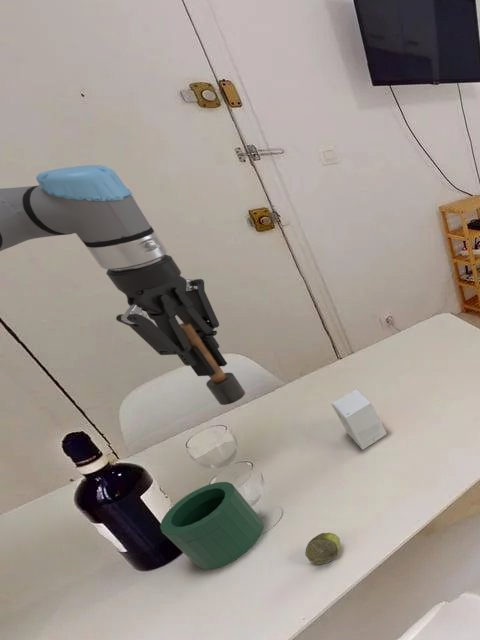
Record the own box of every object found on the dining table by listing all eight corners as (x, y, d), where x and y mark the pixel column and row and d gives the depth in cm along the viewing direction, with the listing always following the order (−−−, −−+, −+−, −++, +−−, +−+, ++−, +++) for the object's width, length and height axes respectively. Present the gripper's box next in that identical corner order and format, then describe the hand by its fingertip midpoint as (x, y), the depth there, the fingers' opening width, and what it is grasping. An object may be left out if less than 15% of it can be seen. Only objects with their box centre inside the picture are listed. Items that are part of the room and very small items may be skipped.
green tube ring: (181, 570, 72) (143, 535, 67) (227, 517, 80) (196, 482, 75) (235, 568, 72) (201, 533, 67) (275, 516, 80) (248, 480, 75)
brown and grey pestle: (213, 405, 81) (160, 332, 72) (230, 391, 85) (181, 319, 76) (234, 404, 81) (183, 331, 72) (250, 390, 85) (203, 318, 76)
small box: (387, 434, 97) (372, 402, 92) (362, 451, 93) (345, 418, 88) (372, 419, 101) (357, 388, 96) (347, 434, 97) (330, 402, 92)
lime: (347, 552, 74) (336, 537, 71) (316, 575, 71) (303, 559, 68) (340, 536, 77) (329, 520, 74) (309, 556, 73) (297, 541, 71)
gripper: (111, 283, 61) (197, 397, 73) (201, 242, 74) (262, 345, 86) (60, 284, 61) (154, 399, 73) (159, 244, 74) (226, 346, 86)
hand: (212, 369), depth 79 cm, fingers closed on brown and grey pestle, 2 cm apart
